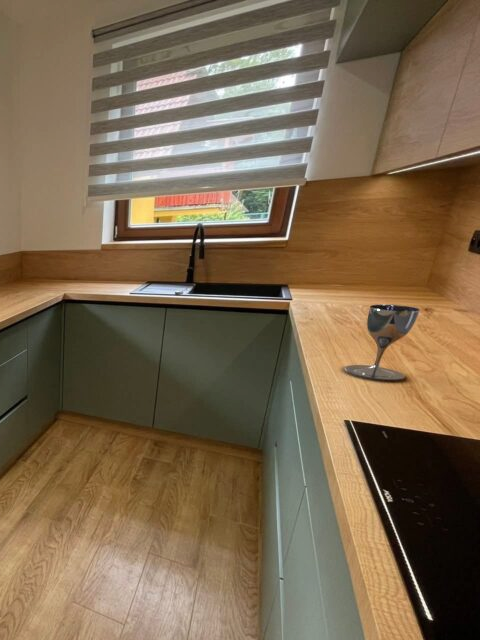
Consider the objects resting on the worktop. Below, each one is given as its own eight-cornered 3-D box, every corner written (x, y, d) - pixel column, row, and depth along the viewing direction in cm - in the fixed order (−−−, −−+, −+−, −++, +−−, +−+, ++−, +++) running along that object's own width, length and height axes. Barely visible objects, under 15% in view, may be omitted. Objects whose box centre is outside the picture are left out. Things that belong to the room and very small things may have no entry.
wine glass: (344, 366, 104) (361, 304, 99) (382, 366, 102) (402, 304, 97) (365, 377, 97) (385, 311, 91) (407, 378, 95) (430, 311, 90)
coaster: (372, 366, 105) (373, 363, 105) (417, 380, 95) (418, 377, 95) (332, 368, 104) (333, 366, 104) (373, 383, 95) (373, 380, 94)
